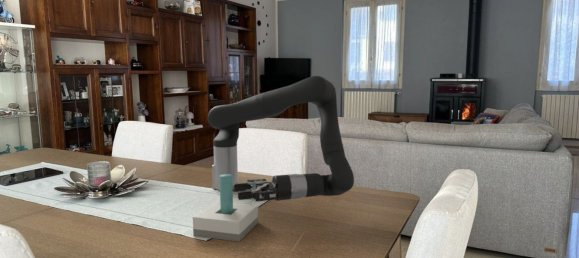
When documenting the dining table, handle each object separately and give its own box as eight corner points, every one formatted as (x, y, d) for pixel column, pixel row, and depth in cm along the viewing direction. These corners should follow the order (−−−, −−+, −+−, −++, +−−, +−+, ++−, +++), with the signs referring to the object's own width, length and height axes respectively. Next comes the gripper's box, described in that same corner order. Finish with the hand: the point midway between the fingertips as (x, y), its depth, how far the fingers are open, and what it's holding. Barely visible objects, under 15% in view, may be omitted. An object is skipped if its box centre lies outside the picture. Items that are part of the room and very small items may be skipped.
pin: (218, 223, 112) (217, 176, 110) (224, 219, 116) (222, 173, 114) (230, 225, 111) (228, 177, 109) (235, 220, 114) (234, 174, 113)
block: (193, 235, 109) (192, 216, 108) (216, 218, 122) (216, 201, 121) (239, 241, 105) (238, 222, 104) (258, 222, 118) (257, 205, 117)
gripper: (283, 169, 123) (232, 173, 119) (296, 180, 110) (239, 185, 105) (283, 192, 124) (232, 196, 120) (296, 206, 111) (240, 212, 106)
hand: (235, 191), depth 113 cm, fingers open, 8 cm apart
